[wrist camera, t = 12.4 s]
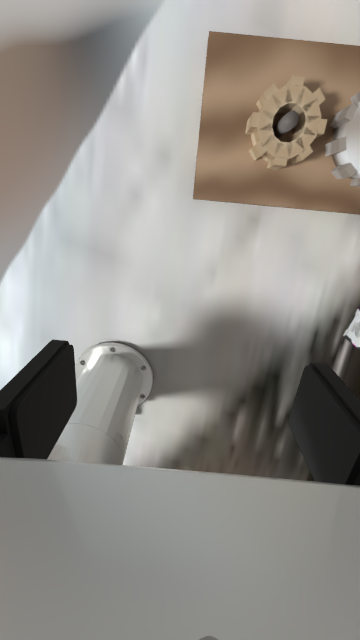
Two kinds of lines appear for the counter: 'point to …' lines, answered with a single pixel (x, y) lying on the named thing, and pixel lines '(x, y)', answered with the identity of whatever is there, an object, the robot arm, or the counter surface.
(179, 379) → the counter surface
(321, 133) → the wooden gear
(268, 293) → the counter surface
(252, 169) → the gear board
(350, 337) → the candy bar box
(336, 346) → the counter surface
